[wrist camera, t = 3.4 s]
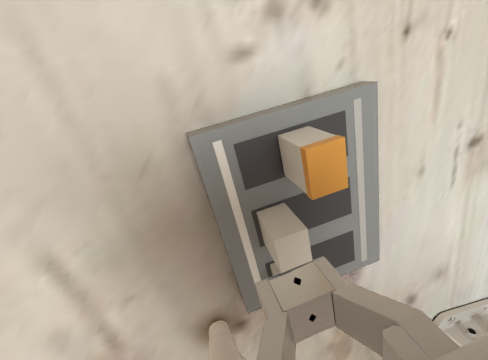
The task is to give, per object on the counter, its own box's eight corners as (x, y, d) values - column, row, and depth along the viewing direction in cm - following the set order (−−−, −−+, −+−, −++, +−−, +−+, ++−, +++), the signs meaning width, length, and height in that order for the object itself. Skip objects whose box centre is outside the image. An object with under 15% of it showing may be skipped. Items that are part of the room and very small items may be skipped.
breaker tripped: (308, 125, 23) (344, 137, 18) (313, 166, 24) (348, 187, 19) (276, 135, 22) (305, 149, 17) (284, 176, 24) (312, 200, 19)
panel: (362, 81, 25) (426, 81, 18) (368, 250, 34) (412, 289, 28) (186, 132, 22) (191, 152, 16) (243, 300, 31) (260, 355, 25)
